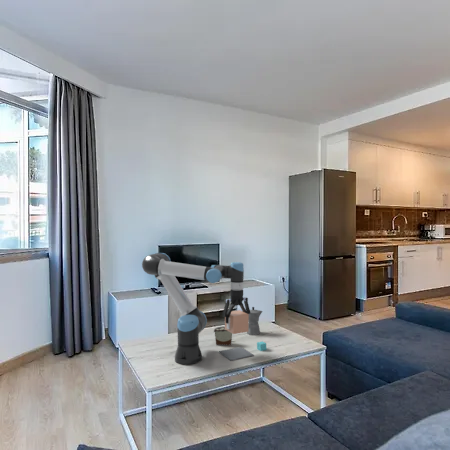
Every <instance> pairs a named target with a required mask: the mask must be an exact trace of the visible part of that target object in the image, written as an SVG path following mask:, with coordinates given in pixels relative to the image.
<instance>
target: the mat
mask: <svg viewBox="0 0 450 450" xmlns="http://www.w3.org/2000/svg"><path fill="white" fill-rule="evenodd" d="M218 353H219V354H221V356H223V357H224V358H226V359H227V360H229V361H230V362H231V361H237V360H241V359H246V358H249V357H250V358H251V357H254V356H255V354H253V353H252V352H250V351H248V350H247V349H245V348H243V347H242V346H237V347H233V348H228V349H223V350H218Z"/></svg>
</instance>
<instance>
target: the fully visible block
mask: <svg viewBox="0 0 450 450" xmlns="http://www.w3.org/2000/svg"><path fill="white" fill-rule="evenodd" d="M256 350H258V351H259V352H263V351H267V343H266V342H264V341H263V340H262V341H257V342H256Z"/></svg>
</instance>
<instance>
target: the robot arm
mask: <svg viewBox="0 0 450 450" xmlns="http://www.w3.org/2000/svg"><path fill="white" fill-rule="evenodd" d="M141 267H142V269H143V271H144V272H145V274H148V275H152V276H154V278H156V279H157V280H159V281H160V282H161V283H162V285H163V287H164V288H165V290H166V292H167V293H168V295H169V297H170V298H171V300H172V302H173V303H174V305H175V306H176V308H177V309H178V311H179V313H180V315H179V318H178V319H177V325H176V328H177V347H176V351H175V355H174V362H176V363H177V364H180V365H194V364H198V363H200V362H201V361H202V360H203V353H202V351H201V347H200V345H199V343H200V341H199V340H200V339H199V338H200V337H199V334H201V332H202V331H203V330H204V329H205V328H206V326H207V323H208V322H207V321H208V319H207V316H206V314H205V313H204V312H203V311H201V310H200V309H199V308H198V306H197V305H194V304H193V303H192V302H191V300H190V298H189V297H188V295H187V294H186V292H185V290H184V288H183V287H182V285H181V284H180V282H179V281H178V279H177V278H176V277H178V278H179V277H180V278H187V279H194V280H200V281H206V282H209V283H211V284H215V283H216V284H217V283H218V282H220V281H221V280H222V279H227V280H229V279H230V284H229V285H230V291H229V292H230V294H229V295H230V298H229V299H228V298H226V299H225V303H224V308H223V311H222V317H224V318H225V317H226V323H227V329H230V317H229V316H230V314H231V312H232V311H234V308H235V307H236V306H239V307H240V308H241V309H240V310H241V311H243V312H245V313H247V314H250V310H251V309H250V306H249V298H248V297H247V296H244V277H245V276H244V275H245V270H244V268H245V267H244V263H243V262H241V261H233V262H230V265H220V264H211V266H203V265H196V264H189V263H182V262H175V261H171V258H170V256H169V255H167V254H166V253H164V252H156V253H152V254H148V255H147V256H145V257H144V258H143V260H142V263H141Z"/></svg>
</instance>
